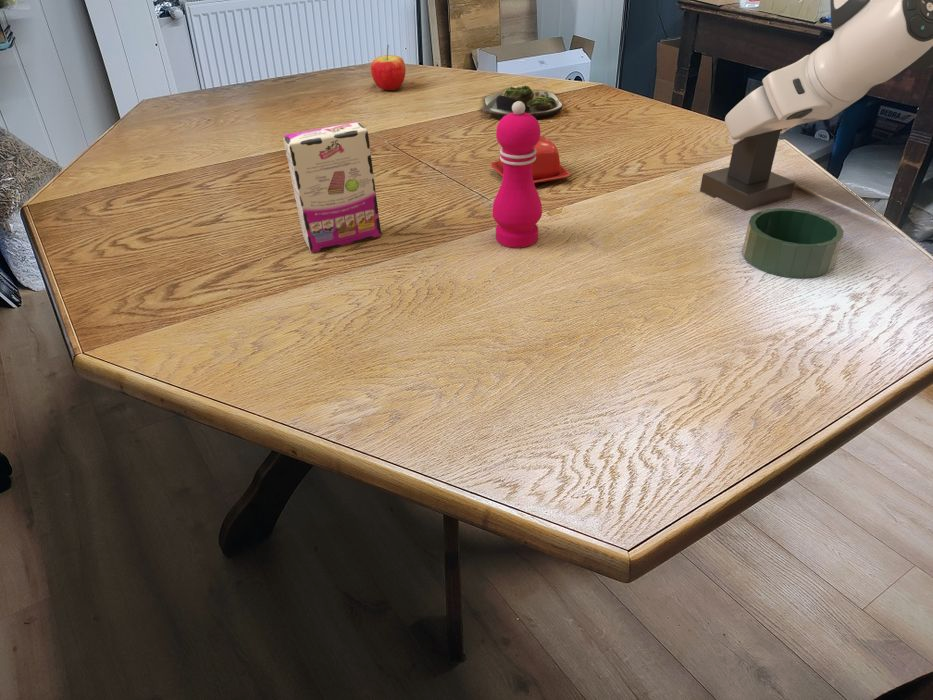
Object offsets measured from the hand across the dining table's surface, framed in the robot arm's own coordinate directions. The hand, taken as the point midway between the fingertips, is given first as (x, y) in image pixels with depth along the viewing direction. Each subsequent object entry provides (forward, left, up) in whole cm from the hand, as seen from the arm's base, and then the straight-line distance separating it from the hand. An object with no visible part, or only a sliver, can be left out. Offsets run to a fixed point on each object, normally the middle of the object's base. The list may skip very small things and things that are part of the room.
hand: (754, 134), depth 107 cm
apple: (+27, -90, -10) cm, 95 cm away
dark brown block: (0, +1, -7) cm, 7 cm away
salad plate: (+8, -58, -10) cm, 60 cm away
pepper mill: (+40, -4, -10) cm, 42 cm away
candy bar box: (+63, -17, -10) cm, 66 cm away
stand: (0, +1, -10) cm, 10 cm away
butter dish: (+26, -24, -10) cm, 37 cm away
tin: (+11, +20, -10) cm, 25 cm away
